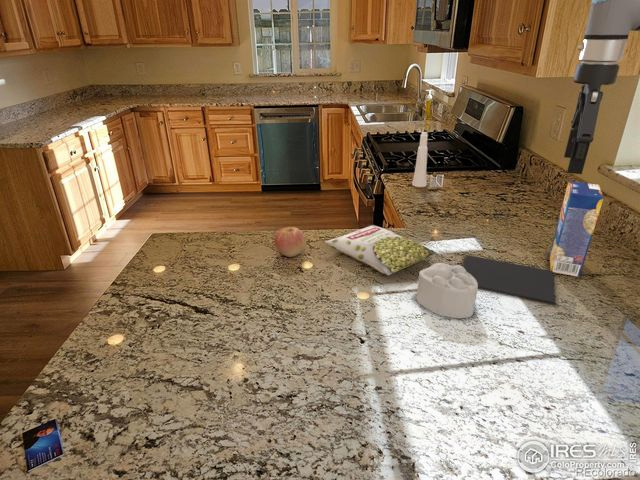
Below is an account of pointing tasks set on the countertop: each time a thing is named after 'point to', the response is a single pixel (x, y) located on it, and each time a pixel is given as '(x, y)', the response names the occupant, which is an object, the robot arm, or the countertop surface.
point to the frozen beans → (381, 249)
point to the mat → (511, 278)
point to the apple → (289, 241)
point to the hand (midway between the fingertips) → (572, 165)
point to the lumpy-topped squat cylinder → (447, 290)
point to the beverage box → (575, 227)
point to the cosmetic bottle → (421, 163)
